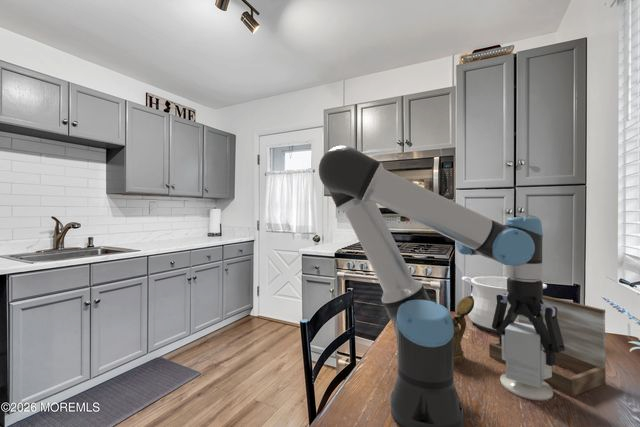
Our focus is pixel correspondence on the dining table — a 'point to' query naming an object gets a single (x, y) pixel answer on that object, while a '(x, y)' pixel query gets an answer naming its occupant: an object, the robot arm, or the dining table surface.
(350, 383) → the dining table surface
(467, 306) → the wooden mug
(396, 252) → the robot arm
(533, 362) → the supplement box
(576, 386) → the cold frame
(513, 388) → the saucer
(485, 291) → the pot
